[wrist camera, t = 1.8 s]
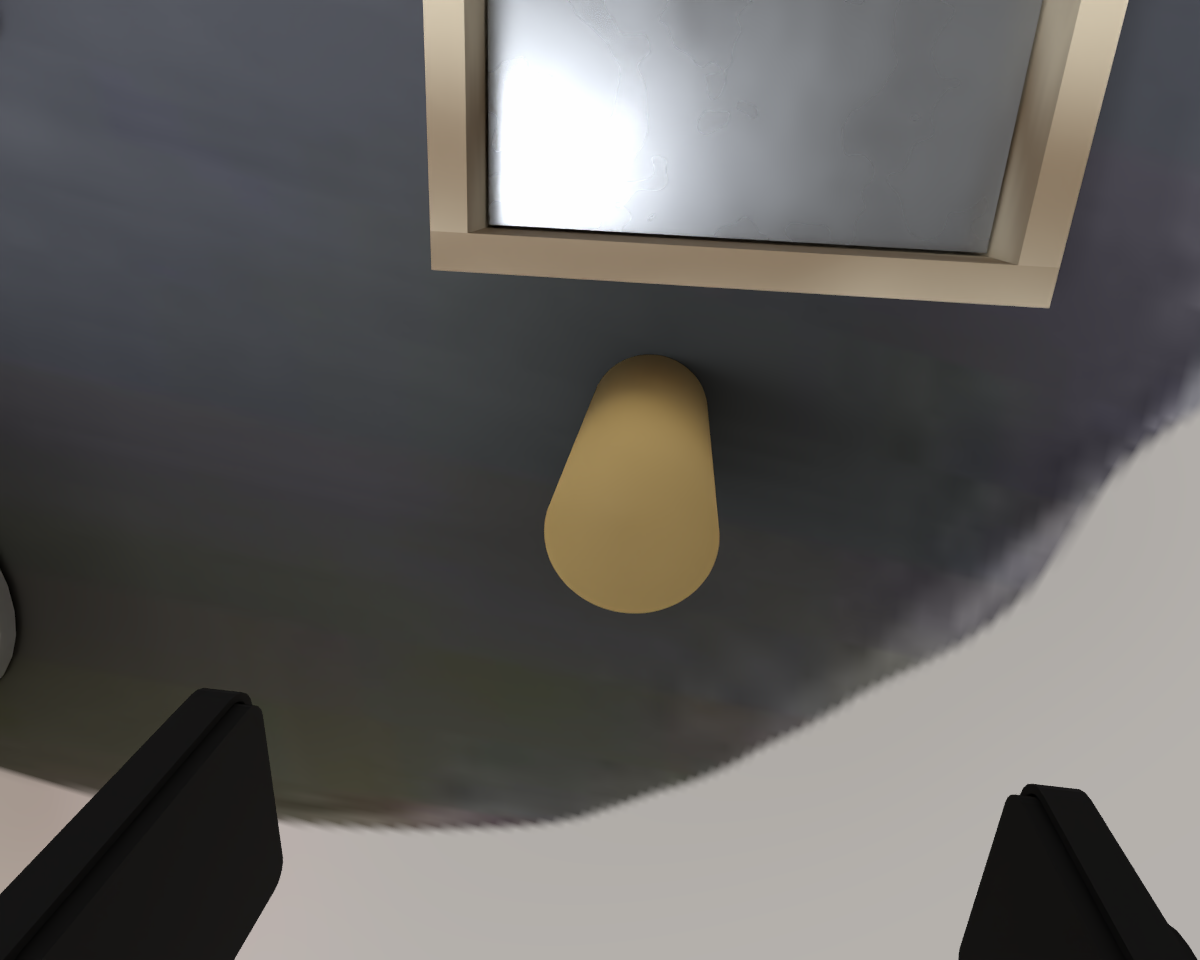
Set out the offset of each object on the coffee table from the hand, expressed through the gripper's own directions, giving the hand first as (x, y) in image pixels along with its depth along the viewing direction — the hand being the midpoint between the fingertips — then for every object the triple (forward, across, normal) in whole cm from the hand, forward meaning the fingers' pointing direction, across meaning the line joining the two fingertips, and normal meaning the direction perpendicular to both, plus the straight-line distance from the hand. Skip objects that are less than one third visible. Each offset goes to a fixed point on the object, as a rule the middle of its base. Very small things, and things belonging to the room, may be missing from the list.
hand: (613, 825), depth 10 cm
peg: (+18, +1, 0) cm, 19 cm away
